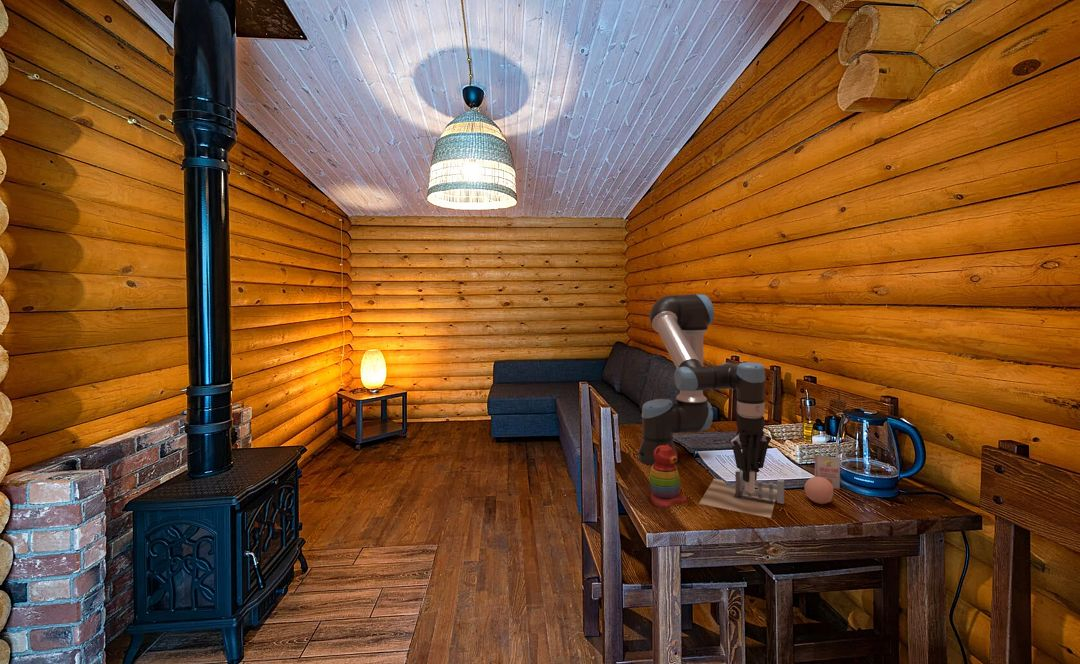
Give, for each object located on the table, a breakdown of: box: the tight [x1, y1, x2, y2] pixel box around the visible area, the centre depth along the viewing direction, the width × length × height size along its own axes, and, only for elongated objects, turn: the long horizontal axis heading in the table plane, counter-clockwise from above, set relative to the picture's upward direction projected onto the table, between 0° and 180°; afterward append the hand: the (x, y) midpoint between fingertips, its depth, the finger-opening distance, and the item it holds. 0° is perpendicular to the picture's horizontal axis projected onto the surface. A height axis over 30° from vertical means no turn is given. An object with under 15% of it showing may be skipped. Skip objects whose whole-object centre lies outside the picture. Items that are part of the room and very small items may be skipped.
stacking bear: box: [649, 444, 688, 509], centre depth 147 cm, size 11×10×18 cm
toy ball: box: [804, 476, 835, 505], centre depth 142 cm, size 8×8×8 cm
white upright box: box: [814, 454, 841, 491], centre depth 153 cm, size 4×7×10 cm, turn 63°
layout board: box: [698, 478, 777, 519], centre depth 147 cm, size 22×20×1 cm
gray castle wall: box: [743, 478, 785, 505], centre depth 143 cm, size 12×2×7 cm, turn 61°
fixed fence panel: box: [734, 469, 744, 497], centre depth 151 cm, size 12×2×8 cm, turn 148°
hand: (749, 491), depth 140 cm, fingers closed
